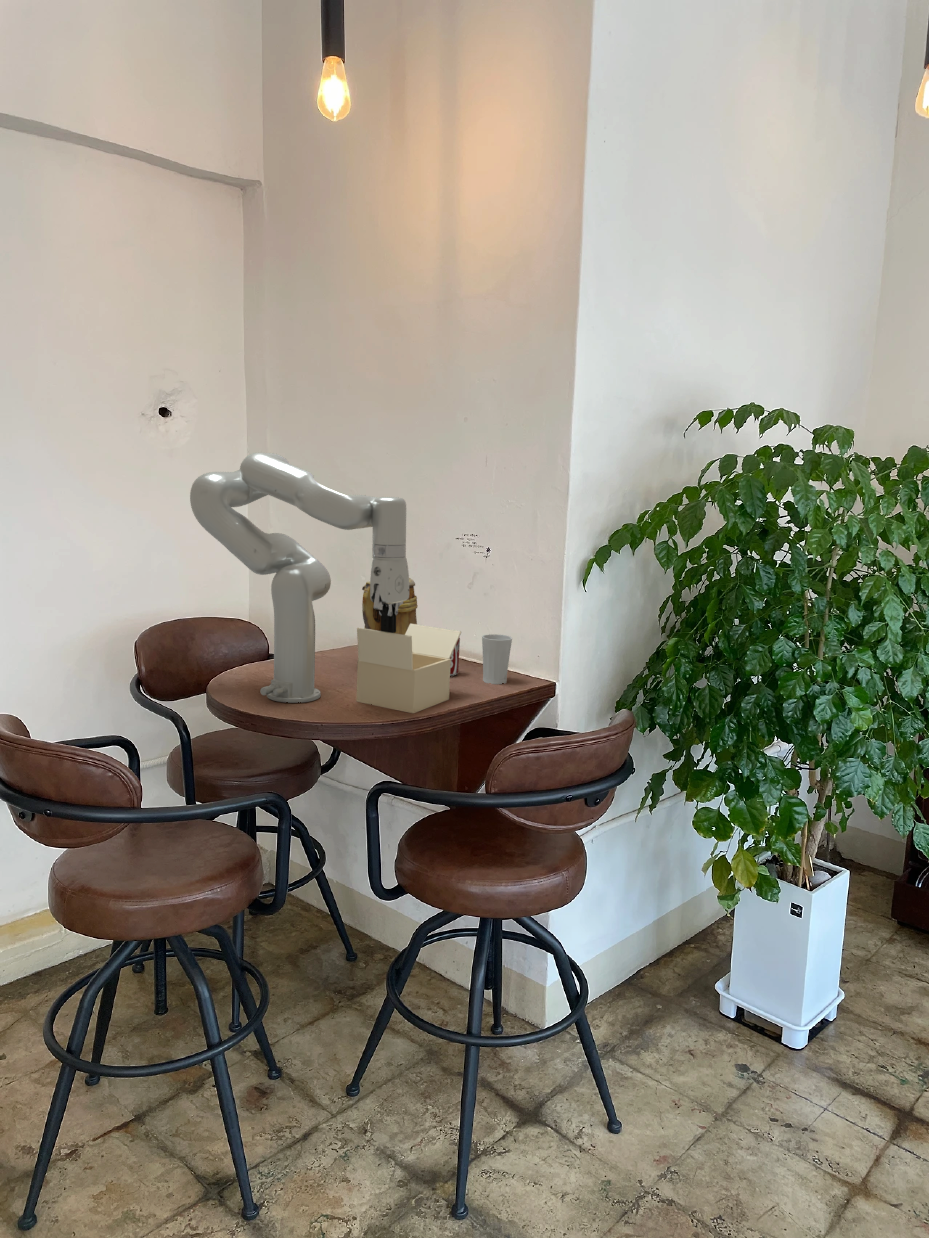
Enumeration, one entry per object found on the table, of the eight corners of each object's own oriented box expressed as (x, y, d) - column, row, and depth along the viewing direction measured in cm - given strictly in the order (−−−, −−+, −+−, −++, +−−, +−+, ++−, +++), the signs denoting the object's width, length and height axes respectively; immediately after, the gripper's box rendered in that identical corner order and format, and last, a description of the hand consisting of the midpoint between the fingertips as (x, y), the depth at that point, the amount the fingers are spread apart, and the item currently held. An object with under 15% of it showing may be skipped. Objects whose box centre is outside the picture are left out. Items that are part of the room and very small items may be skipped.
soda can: (428, 674, 244) (430, 630, 242) (444, 670, 249) (446, 628, 247) (446, 678, 239) (449, 634, 237) (463, 675, 244) (465, 631, 242)
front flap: (358, 627, 208) (356, 628, 208) (411, 636, 201) (410, 636, 201) (359, 660, 210) (358, 660, 210) (412, 669, 203) (411, 670, 203)
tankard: (433, 664, 256) (437, 577, 251) (393, 680, 235) (397, 586, 230) (378, 656, 263) (381, 571, 259) (334, 671, 242) (337, 579, 238)
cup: (513, 684, 236) (515, 640, 234) (483, 685, 234) (486, 640, 232) (505, 677, 244) (507, 634, 242) (476, 677, 242) (478, 634, 240)
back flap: (460, 631, 220) (461, 632, 221) (410, 623, 228) (411, 624, 228) (448, 658, 217) (449, 659, 217) (397, 649, 224) (398, 650, 224)
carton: (413, 713, 205) (415, 670, 203) (356, 701, 212) (357, 660, 211) (448, 699, 218) (450, 659, 217) (394, 688, 226) (395, 649, 224)
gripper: (385, 555, 194) (384, 639, 197) (420, 551, 207) (419, 629, 210) (356, 553, 197) (356, 635, 200) (392, 549, 210) (392, 626, 213)
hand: (388, 632), depth 205 cm, fingers closed
